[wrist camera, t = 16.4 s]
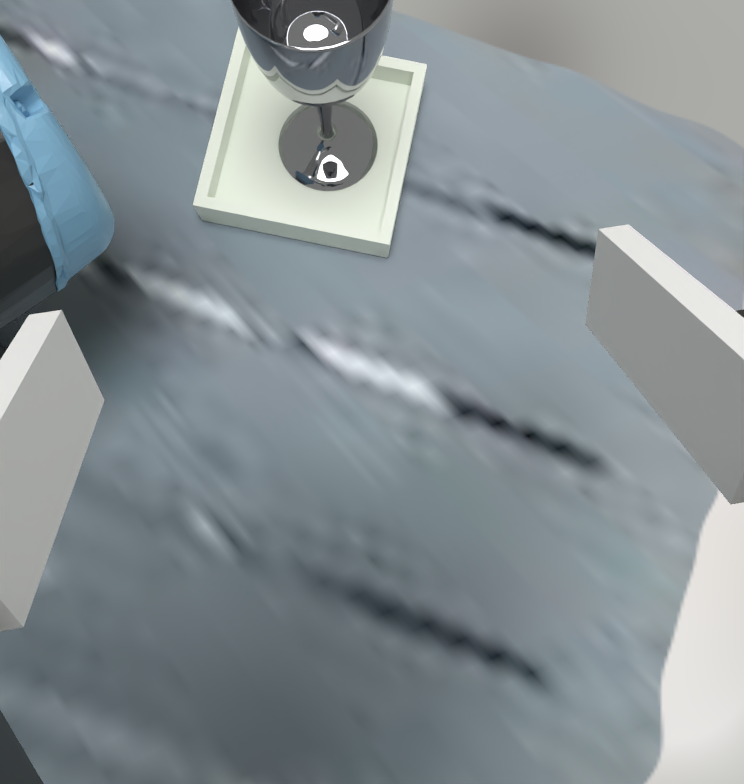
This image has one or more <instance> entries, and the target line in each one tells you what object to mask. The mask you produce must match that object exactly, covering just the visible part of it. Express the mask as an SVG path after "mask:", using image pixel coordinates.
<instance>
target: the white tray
mask: <svg viewBox="0 0 744 784" xmlns="http://www.w3.org/2000/svg"><path fill="white" fill-rule="evenodd" d="M426 68H427V64H422V63H417V62H412V61H407V60H402V59H397V58H393V57H388V56H383V55H381V58H380V60H379V63H378V65H377V68H376V70H375V72H374V73H373V75H372V76H371V78H370V80H369V81H368V83H367V84H366V85H365V86H364V87H363V88H362V90H361V91H360V92H358V93H357V94H356V95H354V96H353V97H352V98H350V99H348V100H346V102H349V103H351V104H353V105H355V106H357V107H358V108H359V109H360V110H362V111H363V112H364V113H365V114H366V115H367V116H368V118H369V119H370V121H371V122H372V124H373V126H374V128H375V131H376V134H377V139H378V150H377V156H376V159H375V161H374V164H373V166H372V167H371V169H370V171H369V172H368V173H367V174H366V175H365V176H364V178H362V179H361V180H360V181H359V182H357V183H356V184H354V185H352V186H350V187H348V188H345V189H342V190H337V191H319V190H314V189H311V188H308V187H306V186H304V185H302V184H301V183H299V182H298V181H296V180H295V179H294V178H293V177H292V176H291V175H290V174H289V173H288V172H287V170H286V169H285V167H284V165H283V163H282V161H281V158H280V154H279V149H278V142H279V135H280V131H281V129H282V126H283V124H284V123H285V121H286V119H287V118H288V117H289V116H290V114H291V113H292V112H293V111H294V110H296V109H297V108H298V107H300V106H301V105H302V104H299V103H296V102H293V101H291V100H290V99H288V98H286V97H284V96H283V95H282V94H280V93H279V92H278V91H277V90H276V89H275V88H274V87H273V86H272V85H271V84H270V83H269V82H268V81H267V80H266V78H265V77H264V75H263V74H262V72H261V71H260V69H259V68H258V66H257V65H256V63H255V61H254V60H253V58H252V56H251V54H250V52H249V50H248V48H247V46H246V44H245V42H244V39H243V37H242V34H241V32H240V29H239V27H238V31H237V35H236V39H235V43H234V47H233V51H232V55H231V59H230V62H229V66H228V70H227V74H226V78H225V82H224V86H223V90H222V94H221V97H220V101H219V105H218V109H217V113H216V117H215V121H214V125H213V128H212V132H211V136H210V140H209V144H208V148H207V152H206V156H205V160H204V163H203V167H202V171H201V175H200V179H199V183H198V187H197V191H196V195H195V198H194V202H193V206H194V208H195V209H196V211H197V213H198V214H199V216H200V218H201V219H202V220H203V221H208V222H212V223H217V224H222V225H227V226H232V227H237V228H242V229H247V230H252V231H257V232H262V233H267V234H272V235H277V236H282V237H287V238H292V239H297V240H301V241H306V242H311V243H316V244H321V245H326V246H331V247H336V248H341V249H346V250H351V251H356V252H361V253H366V254H371V255H376V256H381V257H386V258H388V255H389V250H390V245H391V241H392V236H393V231H394V226H395V221H396V217H397V212H398V207H399V202H400V197H401V192H402V188H403V183H404V178H405V173H406V168H407V163H408V159H409V154H410V149H411V144H412V139H413V134H414V130H415V125H416V120H417V115H418V110H419V105H420V101H421V96H422V91H423V86H424V80H425V74H426Z"/></svg>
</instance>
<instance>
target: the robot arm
mask: <svg viewBox="0 0 744 784" xmlns="http://www.w3.org/2000/svg"><path fill="white" fill-rule="evenodd" d="M114 228H115V222H114V217H113V213H112V210H111V208H110V206H109V204H108V202H107V200H106V198H105V197H104V195H103V193H102V191H101V189H100V188H99V186H98V184H97V182H96V181H95V179H94V178H93V176H92V174H91V173H90V171H89V169H88V168H87V166H86V164H85V163H84V161H83V160H82V158H81V157H80V155H79V153H78V152H77V150H76V149H75V147H74V146H73V144H72V142H71V141H70V139H69V138H68V136H67V135H66V133H65V132H64V130H63V129H62V127H61V126H60V124H59V123H58V121H57V120H56V118H55V117H54V115H53V114H52V112H51V111H50V109H49V108H48V106H47V105H46V104H45V103H44V102H43V101H42V100H41V98H40V97H39V93H38V91H37V90H36V88H35V87H34V85H33V84H32V82H31V81H30V80H29V78H28V77H27V75H26V74H25V72H24V70H23V68H22V67H21V65H20V63H19V62H18V60H17V59H16V57H15V56H14V54H13V53H12V51H11V50H10V48H9V47H8V45H7V44H6V42H5V41H4V39H3V38H2V37H1V35H0V329H1V328H2V327H4V326H5V325H7V324H8V323H10V322H11V321H13V320H14V319H16V318H17V317H19V316H20V315H22V314H23V313H25V312H26V311H28V310H29V309H31V308H32V307H34V306H35V305H36V304H38V303H39V302H41V301H42V300H44V299H45V298H47V297H48V296H50V295H51V294H53V293H54V292H58V291H60V290H61V289H63V288H64V287H65V286H66V285H67V282H68V280H69V279H70V278H71V277H73V276H74V275H75V274H76V273H78V272H79V271H80V270H81V269H83V268H84V267H85V266H86V265H88V264H89V263H90V262H91V261H93V260H94V259H95V258H96V257H98V256H99V255H100V254H101V253H103V252H104V251H105V250H106V248H107V247H108V245H109V244H110V241H111V239H112V237H113V234H114ZM585 325H586V326H587V327H588V328H589V330H590V331H591V332H592V333H593V335H594V336H595V337H596V338H597V340H598V341H599V342H600V343H601V345H602V346H603V347H604V348H605V349H606V351H607V352H608V353H609V354H610V356H611V357H612V358H613V359H614V361H615V362H616V363H617V364H618V366H619V367H620V368H621V369H622V370H623V372H624V373H625V374H626V375H627V377H628V378H629V379H630V380H631V382H632V383H633V384H634V385H635V387H636V388H637V389H638V390H639V392H640V393H641V394H642V395H643V396H644V398H645V399H646V400H647V401H648V403H649V404H650V405H651V406H652V408H653V409H654V410H655V411H656V413H657V414H658V415H659V416H660V418H661V419H662V420H663V421H664V422H665V424H666V425H667V426H668V427H669V429H670V430H671V431H672V432H673V434H674V435H675V436H676V437H677V439H678V440H679V441H680V442H681V443H682V445H683V446H684V447H685V448H686V450H687V451H688V452H689V453H690V455H691V456H692V457H693V458H694V460H695V461H696V462H697V463H698V465H699V466H700V467H701V468H702V469H703V471H704V472H705V473H706V474H707V476H708V477H709V478H710V479H711V481H712V482H713V483H714V484H715V486H716V487H717V488H718V489H719V491H720V492H721V493H722V494H723V495H724V497H725V498H726V499H727V500H728V502H729V503H730V504H736V503H742V502H744V310H738V311H735V310H733V309H732V308H731V307H730V306H728V305H727V304H726V303H725V302H724V301H722V300H721V299H720V298H719V297H717V296H716V295H715V294H714V293H712V292H711V291H710V290H709V289H707V288H706V287H705V286H704V285H703V284H701V283H700V282H699V281H698V280H696V279H695V278H694V277H693V276H691V275H690V274H689V273H688V272H686V271H685V270H684V269H683V268H682V267H680V266H679V265H678V264H677V263H675V262H674V261H673V260H672V259H670V258H669V257H668V256H667V255H665V254H664V253H663V252H662V251H661V250H659V249H658V248H657V247H656V246H654V245H653V244H652V243H651V242H649V241H648V240H647V239H646V238H644V237H643V236H642V235H641V234H639V233H638V232H637V231H636V230H635V229H633V228H632V227H631V226H630V225H622V226H615V227H609V228H602V229H598V236H597V243H596V250H595V258H594V265H593V272H592V279H591V286H590V294H589V301H588V308H587V315H586V323H585ZM103 403H104V398H103V396H102V394H101V392H100V390H99V387H98V385H97V383H96V381H95V379H94V377H93V375H92V373H91V371H90V369H89V366H88V364H87V362H86V360H85V358H84V356H83V354H82V352H81V350H80V347H79V345H78V343H77V341H76V339H75V337H74V335H73V333H72V331H71V328H70V326H69V324H68V322H67V320H66V318H65V316H64V314H63V312H62V310H57V311H51V312H44V313H37V314H31V315H29V316H28V317H27V319H26V320H25V322H24V323H23V325H22V327H21V328H20V330H19V331H18V333H17V334H16V336H15V338H14V339H13V341H12V342H11V344H10V345H9V347H8V349H7V350H5V349H4V348H3V347H2V346H1V345H0V631H6V630H11V629H17V628H23V627H24V625H25V622H26V619H27V616H28V613H29V611H30V608H31V605H32V602H33V599H34V597H35V594H36V591H37V588H38V585H39V583H40V580H41V577H42V574H43V571H44V569H45V566H46V563H47V560H48V557H49V555H50V552H51V549H52V546H53V543H54V541H55V538H56V535H57V532H58V529H59V527H60V524H61V521H62V518H63V515H64V513H65V510H66V507H67V504H68V501H69V499H70V496H71V493H72V490H73V487H74V485H75V482H76V479H77V476H78V473H79V470H80V468H81V465H82V462H83V459H84V456H85V454H86V451H87V448H88V445H89V442H90V440H91V437H92V434H93V431H94V428H95V426H96V423H97V420H98V417H99V414H100V412H101V409H102V406H103ZM0 784H43V782H42V780H41V779H40V777H39V775H38V774H37V772H36V770H35V768H34V767H33V765H32V763H31V762H30V760H29V758H28V757H27V755H26V753H25V751H24V750H23V748H22V746H21V745H20V743H19V741H18V740H17V738H16V736H15V734H14V733H13V731H12V729H11V728H10V726H9V724H8V723H7V721H6V719H5V717H4V716H3V714H2V712H1V711H0Z"/></svg>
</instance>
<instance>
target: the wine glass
mask: <svg viewBox="0 0 744 784" xmlns="http://www.w3.org/2000/svg"><path fill="white" fill-rule="evenodd" d="M231 3H232V7H233V11H234V14H235V17H236V20H237V23H238V26H239V29H240V32H241V34H242V37H243V39H244V42H245V44H246V46H247V48H248V50H249V52H250V54H251V56H252V58H253V60H254V61H255V63H256V65H257V66H258V68H259V69H260V71H261V72H262V74H263V75H264V77H265V78H266V80H267V81H268V82H269V83H270V84H271V85H272V86H273V87H274V88H275V89H276V90H277V91H278V92H279V93H280V94H282V95H283V96H284V97H286V98H288V99H290V100H291V101H293V102H296V103H299V104H302V105H301V106H300V107H298V108H297V109H296V110H294V111H293V112H292V113H291V114H290V116H289V117H288V118H287V119H286V121H285V123H284V124H283V126H282V129H281V131H280V135H279V142H278V149H279V154H280V158H281V161H282V163H283V165H284V167H285V169H286V170H287V172H288V173H289V174H290V175H291V176H292V177H293V178H294V179H295V180H296V181H298V182H299V183H301V184H302V185H304V186H306V187H308V188H311V189H314V190H319V191H337V190H342V189H345V188H348V187H350V186H352V185H354V184H356V183H357V182H359V181H360V180H361V179H362V178H364V176H365V175H366V174H367V173H368V172H369V171H370V169H371V167H372V166H373V164H374V161H375V159H376V156H377V150H378V139H377V134H376V131H375V128H374V126H373V124H372V122H371V121H370V119H369V118H368V116H367V115H366V114H365V113H364V112H363V111H362V110H360V109H359V108H358V107H357V106H355V105H353V104H351V103H349V102H346V100H348V99H350V98H352V97H353V96H354V95H356V94H357V93H358V92H360V91H361V90H362V88H363V87H364V86H365V85H366V84H367V83H368V81H369V80H370V78H371V76H372V75H373V73H374V72H375V70H376V68H377V65H378V63H379V60H380V58H381V55H382V53H383V50H384V47H385V44H386V40H387V36H388V32H389V27H390V22H391V15H392V7H393V0H231Z"/></svg>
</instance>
